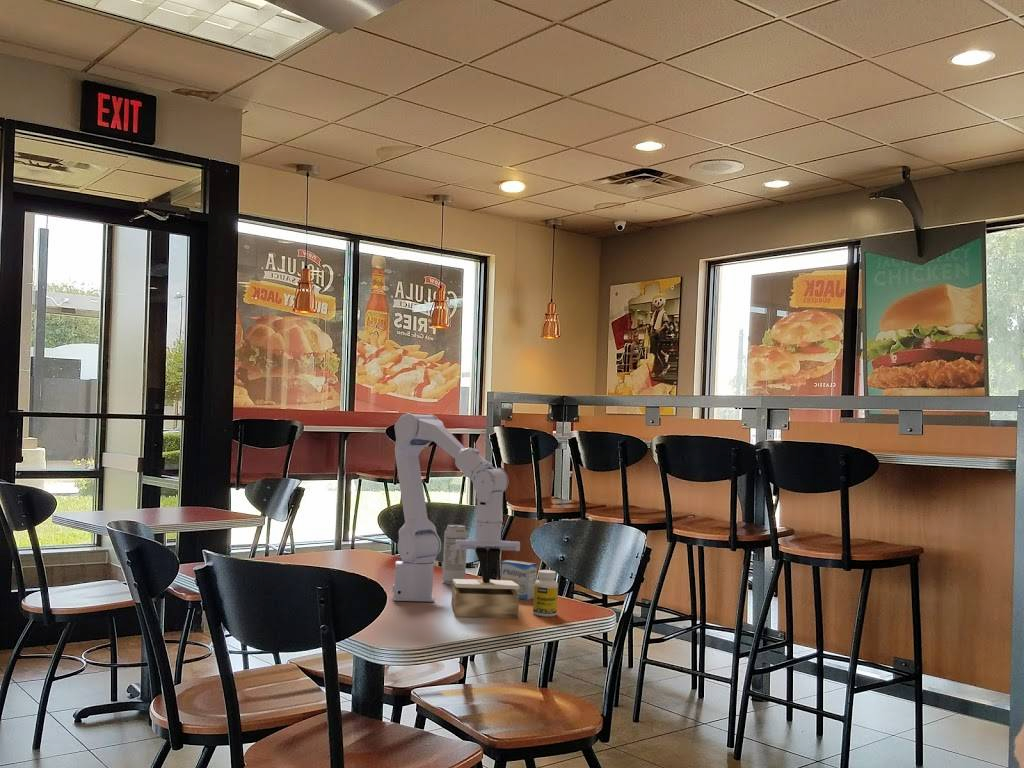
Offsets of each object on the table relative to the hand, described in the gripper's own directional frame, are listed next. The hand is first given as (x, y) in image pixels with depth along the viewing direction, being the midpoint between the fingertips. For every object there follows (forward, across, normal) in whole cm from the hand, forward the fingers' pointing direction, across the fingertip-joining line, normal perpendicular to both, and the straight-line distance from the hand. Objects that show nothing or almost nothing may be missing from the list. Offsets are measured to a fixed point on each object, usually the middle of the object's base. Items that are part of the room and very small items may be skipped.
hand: (486, 581), depth 213 cm
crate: (+7, 0, +2) cm, 7 cm away
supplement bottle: (+7, +14, 0) cm, 15 cm away
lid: (+1, 0, +2) cm, 2 cm away
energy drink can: (+7, -5, +36) cm, 37 cm away
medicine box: (+7, +10, +19) cm, 23 cm away
